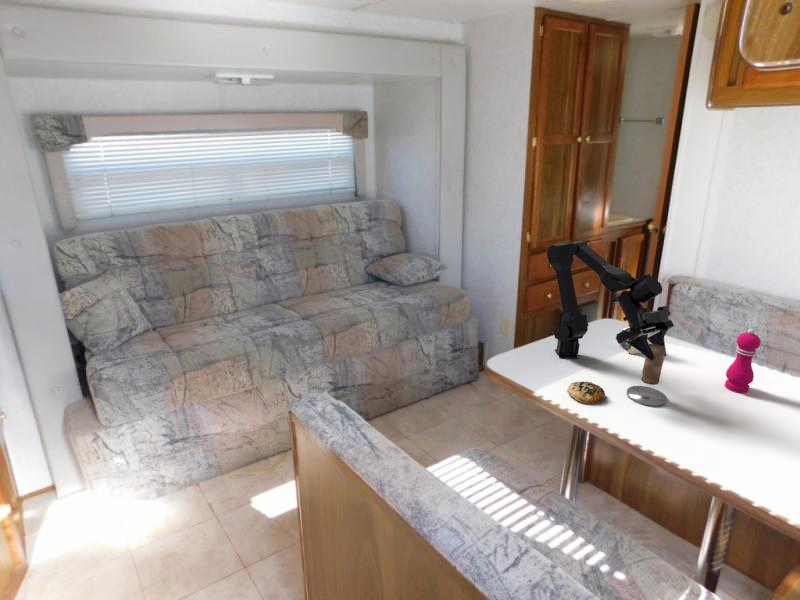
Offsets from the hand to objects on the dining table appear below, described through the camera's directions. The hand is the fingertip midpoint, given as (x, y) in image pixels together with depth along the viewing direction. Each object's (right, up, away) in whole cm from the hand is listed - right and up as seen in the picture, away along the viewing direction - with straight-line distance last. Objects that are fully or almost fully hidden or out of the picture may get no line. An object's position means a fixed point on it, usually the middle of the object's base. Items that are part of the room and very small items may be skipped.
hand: (658, 357), depth 153 cm
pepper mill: (+30, -11, +12) cm, 34 cm away
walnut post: (-1, -7, +4) cm, 8 cm away
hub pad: (-1, -12, +5) cm, 13 cm away
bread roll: (-19, -12, +6) cm, 24 cm away
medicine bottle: (+9, -1, +38) cm, 39 cm away
